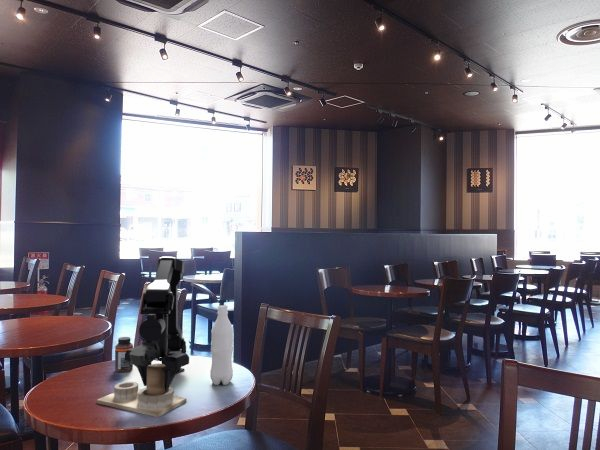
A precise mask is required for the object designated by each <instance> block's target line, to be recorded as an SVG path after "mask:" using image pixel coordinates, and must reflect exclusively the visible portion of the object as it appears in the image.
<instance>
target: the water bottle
mask: <svg viewBox="0 0 600 450" xmlns="http://www.w3.org/2000/svg"><path fill="white" fill-rule="evenodd" d="M228 311H229V310H228V305H225V304H224V305H223V304H221V305H218V306H217V312H216V314H217V317H216V320H215V321H214V323H213V326H212V328H211V331H210V333H211V342H210V344H211V346H210V354H211V367H210V372H209V373H210V375H209V376H210V380H211V382H212V384H214V386H219V385H220V383H222V385H223V386H227V385H228V384H229V383H230V382H231V381H232V379H233V372H234V370H233V363H232V360H233V359H232V357H233V351H234V329H233V328H234V327H233V325H232V323H231V321H230V319H229V317H228V316H229V315H228V314H229V312H228Z"/></svg>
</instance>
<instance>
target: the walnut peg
mask: <svg viewBox="0 0 600 450" xmlns="http://www.w3.org/2000/svg"><path fill="white" fill-rule="evenodd" d="M162 367H165V364H162V363H151V365H148V366H147V386H146V387H147V392H146V395H148V396H158V395H163V394H165V387H164V371H163V370H162V369H161V368H162Z"/></svg>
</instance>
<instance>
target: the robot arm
mask: <svg viewBox="0 0 600 450" xmlns="http://www.w3.org/2000/svg"><path fill="white" fill-rule="evenodd" d="M155 271H156V274H155V278H154V280H153V282H151V283H149V284H148V285H147V287H146V289H145V291H144V292H143V294H142V299H141V307H140V312H139V313H140V315H145V319H144V320H143V322H142V323H140V325H139V328H138V329H139V331H138V333H139V335H140V337H141V338H142V342H141V344H139V345H138V346H136V347H133V348H132V349H129V350H127V351H126V353H125V360H126V361H131V362H130V363H131V364H133V366H134V367H136V368H137V371H138V373H139V375H140V379H141V382H142V384H143V386H144V387H147V366H148V365H151V364H153V363H152V362H153V361H157V362H161V364H165V367H162V368H161V369H162V370H163V371H164V387H165V390H168V389H169V387H171V384H172V382H173V381H174V377H175V376H176V374H179V373H180V372H183V371H185V368H182V367H184V366H187V365H189V364H190V356H189V354H188V353H187V343H186V341H185V337H184V336H183V331H182V329H181V327H180V326H179V324H178V321H179V320H178V317H179V316H178V315H179V314H178V309H179V308H178V305H179V304H178V303H179V302H178V299H179V298H178V293H179V292H178V291H179V290H178V287H179V283H180V282H181V280H182V278H183V274H184V273H185V263H184V261H183V260H181V259H178V258H176V257H174V256H161V257H159V258H158V260H156V269H155Z"/></svg>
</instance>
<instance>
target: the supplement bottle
mask: <svg viewBox="0 0 600 450" xmlns="http://www.w3.org/2000/svg"><path fill="white" fill-rule="evenodd" d="M132 348H134V344H133V343H132V342H131V337H130V336H122V337H121V336H120V337H118V340H117V344H116V345H115V346H114V349H115V350H114V370H115V371H116V372H117V373H127V372H130V371H132V370H133V368H134V367H133V366H134V365H133V364H131V363H130V362H131V361H126V360H125V353H126V351H127V350H129V349H132Z"/></svg>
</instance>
